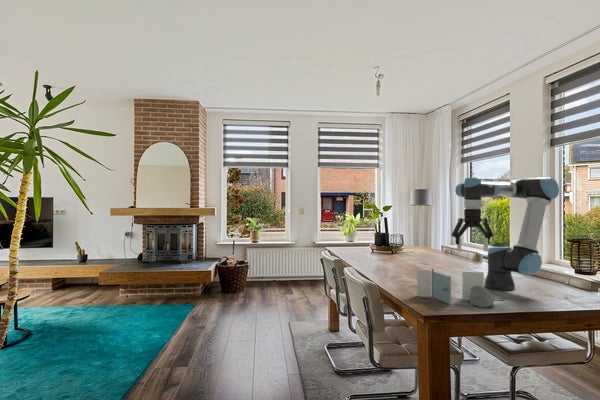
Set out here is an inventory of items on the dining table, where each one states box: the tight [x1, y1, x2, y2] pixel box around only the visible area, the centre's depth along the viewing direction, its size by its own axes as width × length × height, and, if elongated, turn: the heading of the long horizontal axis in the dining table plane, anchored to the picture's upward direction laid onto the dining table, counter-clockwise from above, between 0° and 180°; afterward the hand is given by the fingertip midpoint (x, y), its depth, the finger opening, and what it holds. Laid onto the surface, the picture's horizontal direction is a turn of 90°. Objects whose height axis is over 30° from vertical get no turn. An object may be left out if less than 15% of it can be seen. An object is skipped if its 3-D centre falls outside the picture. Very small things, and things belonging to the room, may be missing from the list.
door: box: [432, 270, 452, 305], centre depth 171 cm, size 12×3×13 cm, turn 14°
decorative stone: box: [469, 286, 496, 308], centre depth 165 cm, size 13×11×10 cm
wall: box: [416, 268, 485, 301], centre depth 176 cm, size 31×1×14 cm, turn 74°
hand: (472, 251), depth 173 cm, fingers open, 13 cm apart
